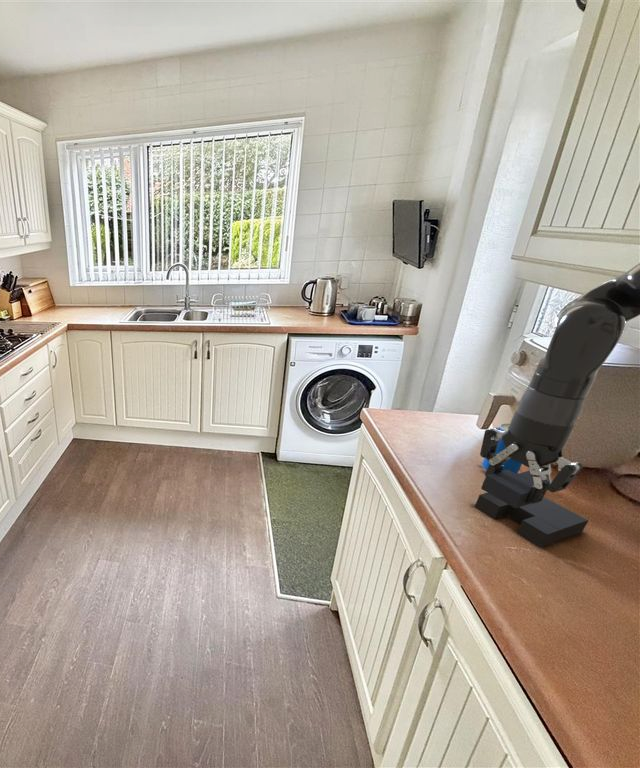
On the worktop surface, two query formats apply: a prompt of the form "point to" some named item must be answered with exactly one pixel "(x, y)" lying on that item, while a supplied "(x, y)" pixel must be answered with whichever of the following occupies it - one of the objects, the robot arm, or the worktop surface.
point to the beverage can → (510, 463)
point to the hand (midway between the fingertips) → (510, 491)
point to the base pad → (536, 519)
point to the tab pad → (509, 487)
